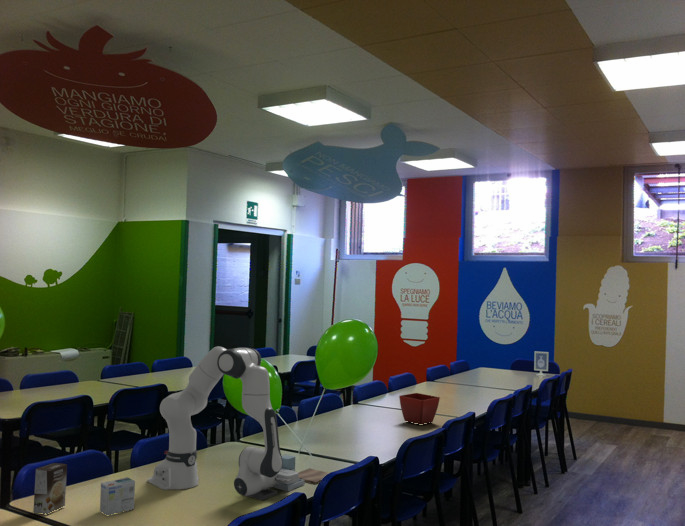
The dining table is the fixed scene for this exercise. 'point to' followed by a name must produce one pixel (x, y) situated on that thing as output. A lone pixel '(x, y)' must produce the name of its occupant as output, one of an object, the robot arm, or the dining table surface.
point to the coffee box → (50, 488)
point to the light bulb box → (117, 496)
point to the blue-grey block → (288, 464)
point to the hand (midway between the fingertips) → (288, 469)
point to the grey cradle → (290, 487)
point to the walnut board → (312, 475)
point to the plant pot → (419, 407)
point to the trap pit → (264, 494)
